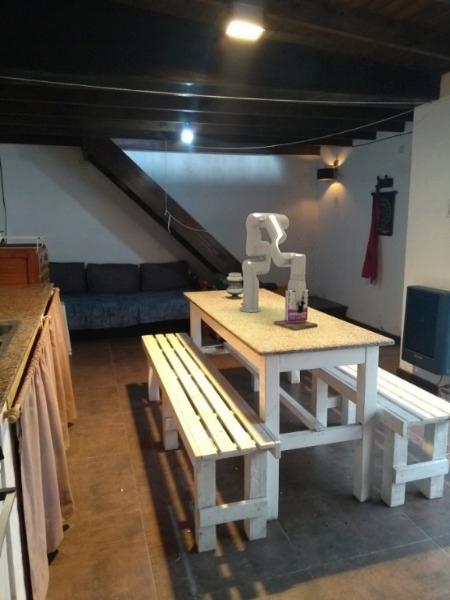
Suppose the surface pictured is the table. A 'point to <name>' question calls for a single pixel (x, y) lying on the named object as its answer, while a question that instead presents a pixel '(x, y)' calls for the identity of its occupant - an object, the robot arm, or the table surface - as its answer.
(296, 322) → the walnut board
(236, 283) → the apothecary jar
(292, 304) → the candy bar box
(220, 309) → the table surface
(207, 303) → the table surface
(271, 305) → the table surface
